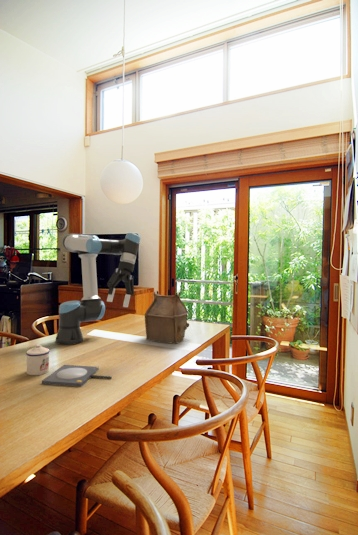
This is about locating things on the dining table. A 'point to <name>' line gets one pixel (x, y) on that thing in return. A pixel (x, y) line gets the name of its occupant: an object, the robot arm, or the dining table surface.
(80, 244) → the robot arm
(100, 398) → the dining table surface
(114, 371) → the dining table surface
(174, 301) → the hut
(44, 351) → the teacup with lid
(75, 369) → the warming pad
